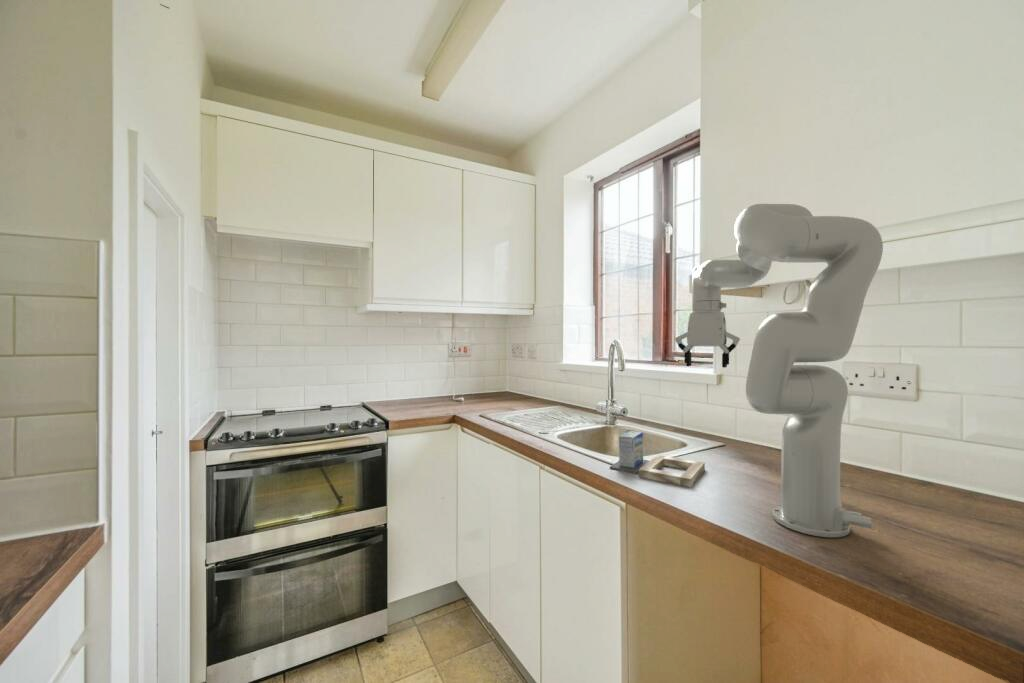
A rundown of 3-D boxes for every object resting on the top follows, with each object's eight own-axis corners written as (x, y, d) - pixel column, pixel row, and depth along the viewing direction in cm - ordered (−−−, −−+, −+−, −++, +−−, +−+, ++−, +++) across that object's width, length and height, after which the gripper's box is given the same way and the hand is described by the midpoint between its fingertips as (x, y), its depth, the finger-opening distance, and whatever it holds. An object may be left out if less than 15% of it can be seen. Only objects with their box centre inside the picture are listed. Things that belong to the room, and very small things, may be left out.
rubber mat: (651, 462, 123) (651, 460, 123) (637, 474, 113) (637, 472, 113) (625, 458, 127) (625, 456, 127) (609, 468, 118) (609, 466, 118)
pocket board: (704, 469, 116) (704, 462, 116) (690, 487, 103) (690, 479, 103) (657, 461, 124) (657, 454, 124) (638, 476, 111) (638, 469, 111)
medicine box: (634, 468, 116) (634, 437, 115) (618, 466, 118) (618, 435, 118) (643, 461, 122) (643, 432, 122) (628, 459, 125) (628, 430, 124)
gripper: (741, 307, 119) (741, 366, 120) (678, 309, 129) (678, 364, 130) (737, 305, 113) (737, 368, 113) (672, 308, 123) (672, 366, 124)
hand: (706, 366), depth 122 cm, fingers open, 9 cm apart
